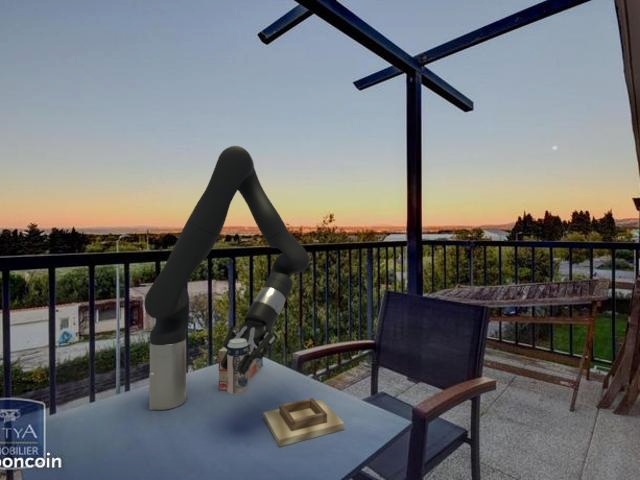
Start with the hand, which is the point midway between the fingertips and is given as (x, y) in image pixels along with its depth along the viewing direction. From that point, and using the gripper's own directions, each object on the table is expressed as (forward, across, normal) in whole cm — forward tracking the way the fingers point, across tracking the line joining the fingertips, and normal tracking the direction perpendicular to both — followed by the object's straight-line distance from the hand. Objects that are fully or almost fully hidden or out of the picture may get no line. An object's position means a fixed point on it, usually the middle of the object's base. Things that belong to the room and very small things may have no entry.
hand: (232, 369), depth 77 cm
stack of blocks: (-7, -22, +30) cm, 37 cm away
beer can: (+3, 0, +6) cm, 6 cm away
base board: (+2, +11, +19) cm, 22 cm away
